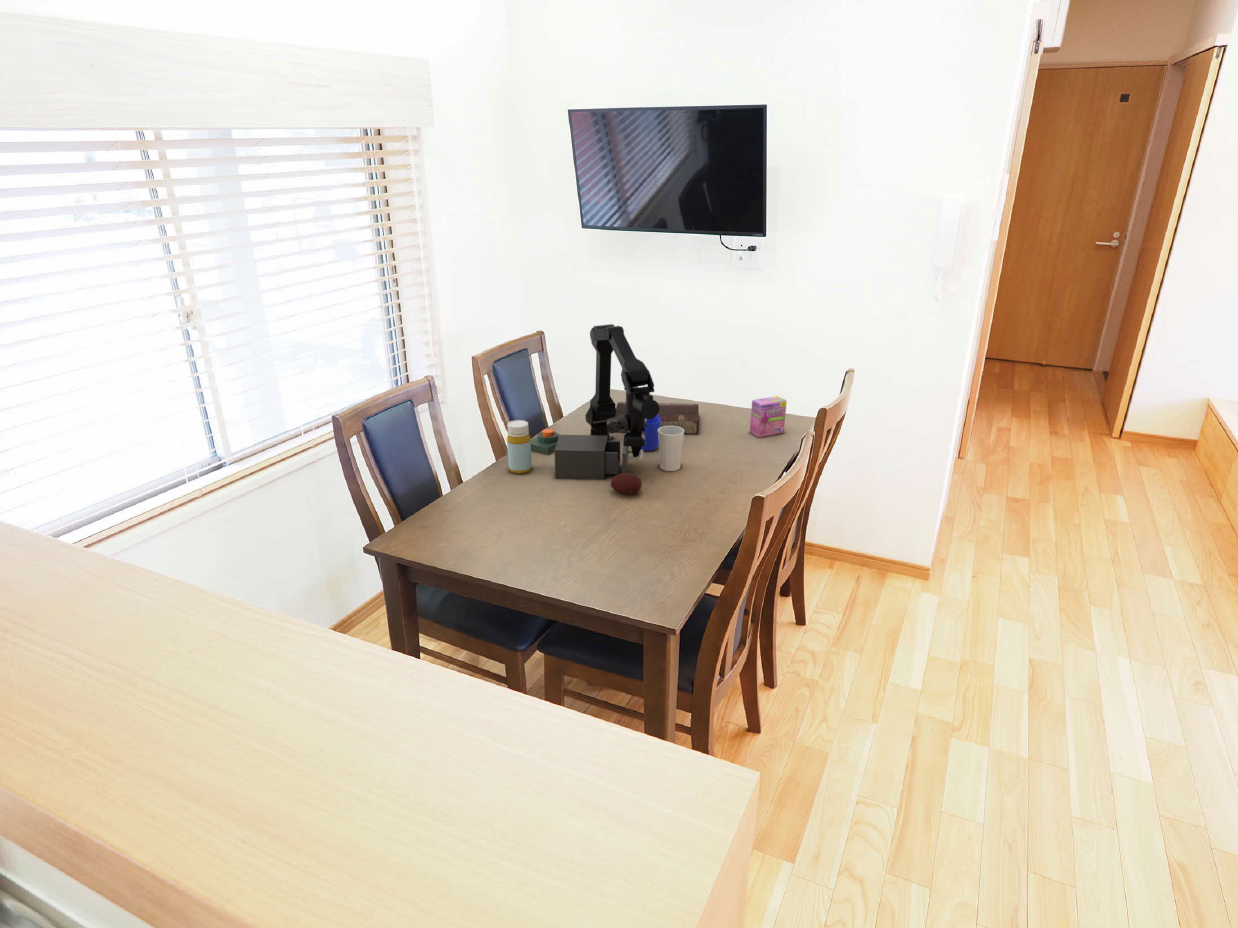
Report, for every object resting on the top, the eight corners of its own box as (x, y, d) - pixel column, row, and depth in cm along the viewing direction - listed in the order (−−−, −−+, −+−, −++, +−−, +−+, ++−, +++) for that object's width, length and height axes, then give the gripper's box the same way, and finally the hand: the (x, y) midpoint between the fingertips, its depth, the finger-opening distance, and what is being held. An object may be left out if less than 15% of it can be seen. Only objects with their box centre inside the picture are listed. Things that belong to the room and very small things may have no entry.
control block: (549, 437, 264) (548, 426, 263) (570, 442, 260) (570, 431, 258) (526, 448, 255) (525, 437, 254) (547, 454, 251) (547, 443, 249)
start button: (547, 432, 258) (547, 427, 258) (555, 435, 256) (555, 430, 256) (540, 436, 256) (540, 431, 255) (548, 438, 254) (548, 433, 253)
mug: (668, 441, 260) (669, 413, 256) (654, 454, 250) (655, 425, 246) (645, 438, 263) (646, 410, 260) (631, 450, 253) (631, 421, 249)
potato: (634, 501, 219) (634, 481, 217) (606, 495, 223) (606, 475, 221) (646, 490, 226) (646, 471, 223) (618, 485, 229) (618, 466, 227)
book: (697, 415, 283) (698, 402, 281) (698, 434, 266) (698, 420, 264) (617, 413, 286) (617, 400, 284) (613, 432, 268) (613, 418, 266)
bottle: (528, 475, 236) (525, 428, 230) (505, 473, 237) (502, 427, 231) (534, 466, 242) (532, 420, 236) (513, 464, 243) (510, 419, 237)
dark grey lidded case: (607, 462, 244) (607, 435, 241) (604, 479, 233) (604, 451, 229) (561, 461, 245) (560, 434, 242) (555, 478, 234) (554, 450, 230)
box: (758, 438, 263) (761, 404, 258) (749, 432, 268) (751, 399, 263) (784, 433, 267) (787, 400, 262) (774, 427, 272) (777, 395, 267)
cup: (675, 474, 236) (676, 437, 231) (652, 468, 240) (652, 431, 235) (687, 465, 242) (688, 428, 238) (664, 459, 246) (665, 423, 242)
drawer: (643, 461, 243) (643, 439, 240) (642, 476, 232) (642, 454, 229) (585, 460, 244) (584, 438, 241) (581, 475, 234) (580, 452, 231)
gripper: (610, 397, 239) (611, 445, 245) (605, 418, 222) (606, 469, 228) (647, 398, 238) (646, 446, 245) (645, 419, 221) (644, 470, 227)
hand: (635, 457), depth 236 cm, fingers closed
